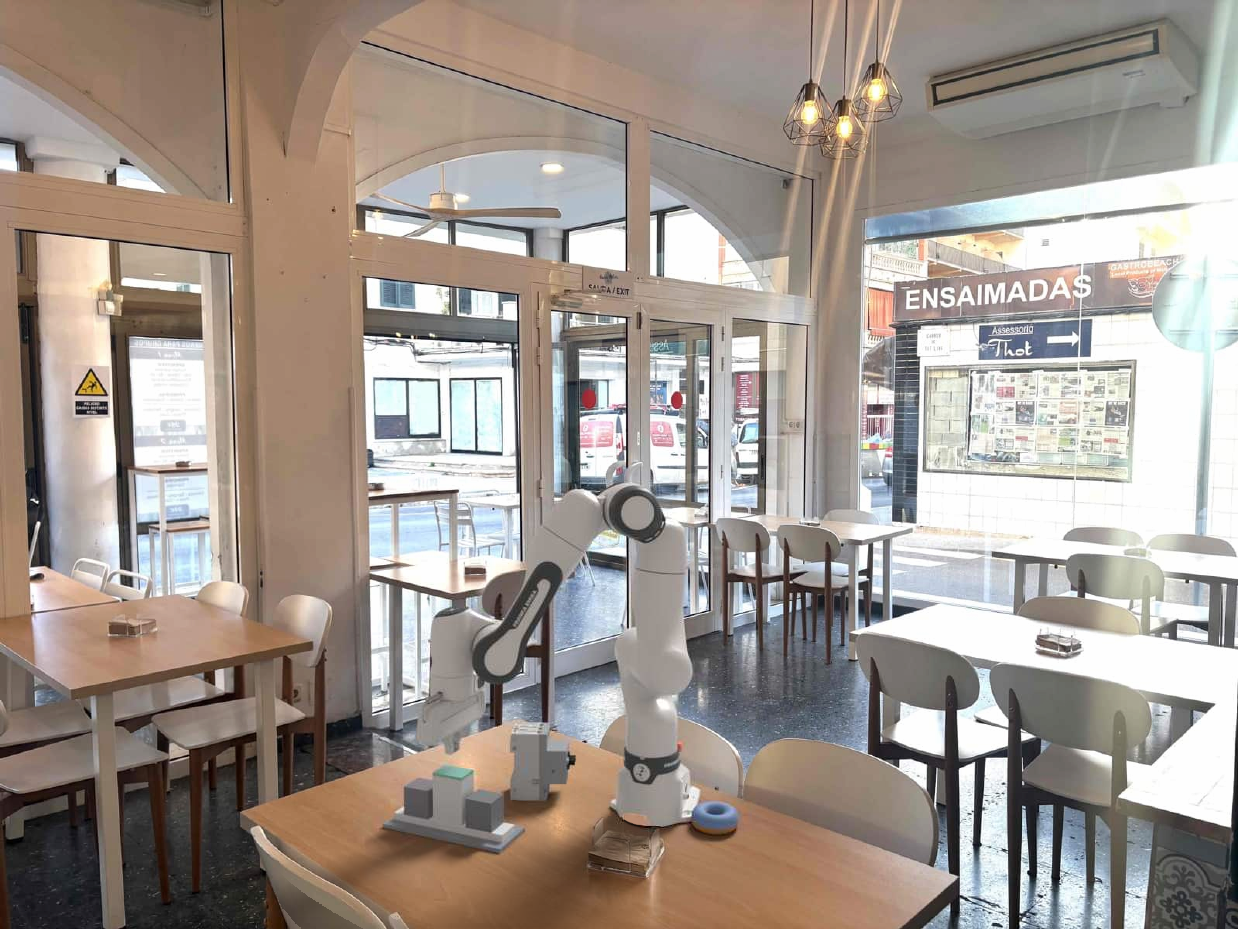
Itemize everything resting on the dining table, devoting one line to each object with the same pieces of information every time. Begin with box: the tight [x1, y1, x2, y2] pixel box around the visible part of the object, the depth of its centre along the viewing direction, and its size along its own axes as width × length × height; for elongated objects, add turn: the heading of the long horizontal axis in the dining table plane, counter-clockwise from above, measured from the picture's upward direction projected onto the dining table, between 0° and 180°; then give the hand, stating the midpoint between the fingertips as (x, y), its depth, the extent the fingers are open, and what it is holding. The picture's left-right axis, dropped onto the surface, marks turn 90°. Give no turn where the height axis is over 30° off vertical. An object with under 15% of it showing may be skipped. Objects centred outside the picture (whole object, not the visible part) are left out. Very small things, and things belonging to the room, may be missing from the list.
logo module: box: [432, 764, 475, 826], centre depth 183 cm, size 4×7×10 cm, turn 67°
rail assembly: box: [382, 777, 526, 854], centre depth 184 cm, size 10×28×8 cm, turn 67°
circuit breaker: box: [509, 722, 577, 802], centre depth 201 cm, size 8×14×15 cm, turn 89°
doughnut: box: [690, 800, 740, 836], centre depth 186 cm, size 10×10×5 cm
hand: (452, 752), depth 183 cm, fingers closed
